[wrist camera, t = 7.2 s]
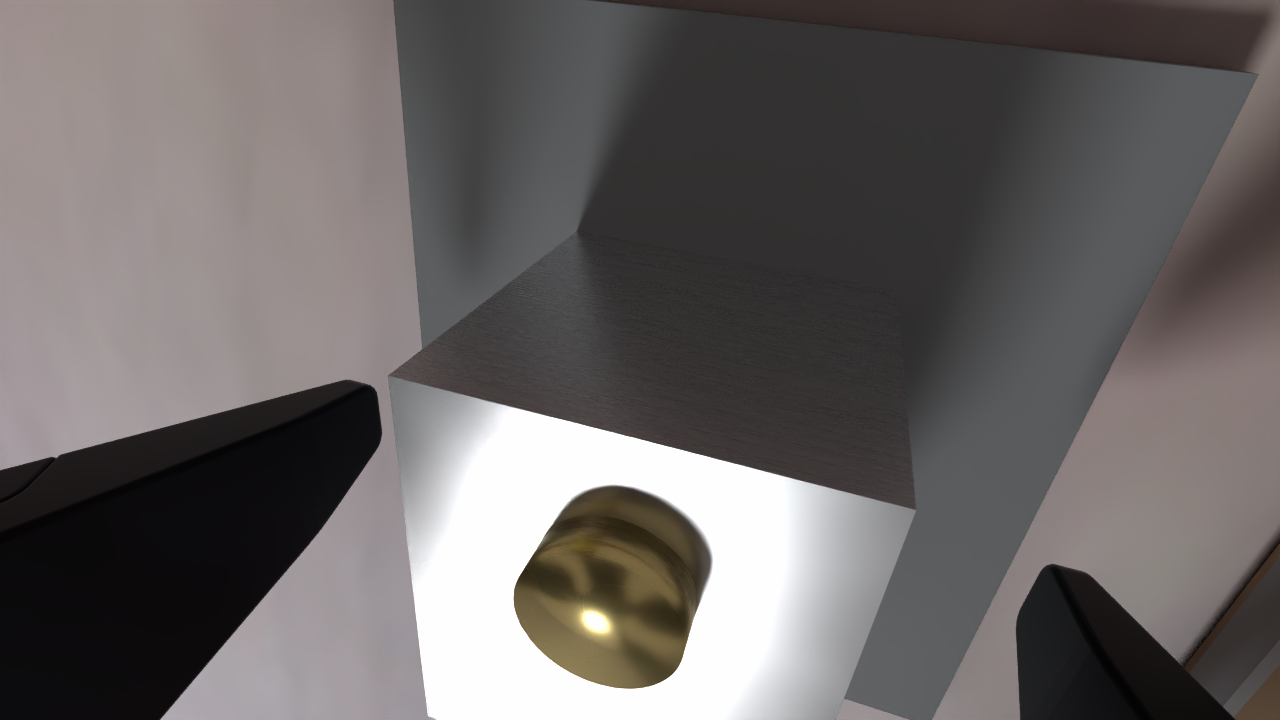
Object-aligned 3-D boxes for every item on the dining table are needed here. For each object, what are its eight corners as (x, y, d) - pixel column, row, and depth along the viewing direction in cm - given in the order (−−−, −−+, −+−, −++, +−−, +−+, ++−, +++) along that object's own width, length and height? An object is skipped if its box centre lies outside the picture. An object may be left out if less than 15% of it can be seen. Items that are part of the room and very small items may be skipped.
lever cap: (814, 563, 11) (780, 901, 7) (566, 494, 12) (404, 753, 8) (896, 289, 9) (919, 557, 5) (576, 230, 10) (350, 404, 5)
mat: (926, 696, 13) (929, 725, 12) (455, 548, 15) (441, 568, 14) (1232, 69, 7) (1258, 74, 7) (417, -20, 9) (391, -22, 9)
